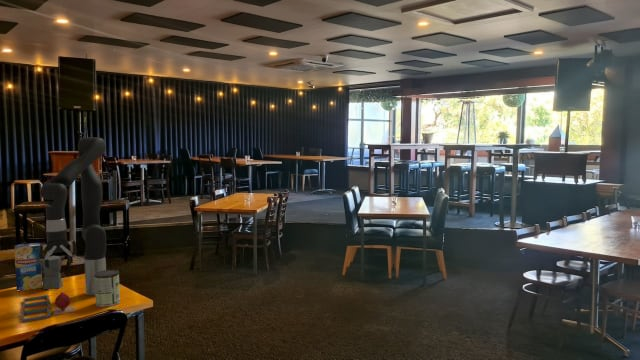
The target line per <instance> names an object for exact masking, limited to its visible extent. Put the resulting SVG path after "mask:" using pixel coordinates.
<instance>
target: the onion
mask: <svg viewBox="0 0 640 360" xmlns="http://www.w3.org/2000/svg"><path fill="white" fill-rule="evenodd" d="M59 293H60V294H58V295H57V296H56V298H55V299H54V305H55V306H56V308H60V309H61V310H64V309H65V308H67V307H68V306H70V303H71V298H70V296H69V295H68V294H66V293H65V292H64V291H61V292H59Z"/></svg>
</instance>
